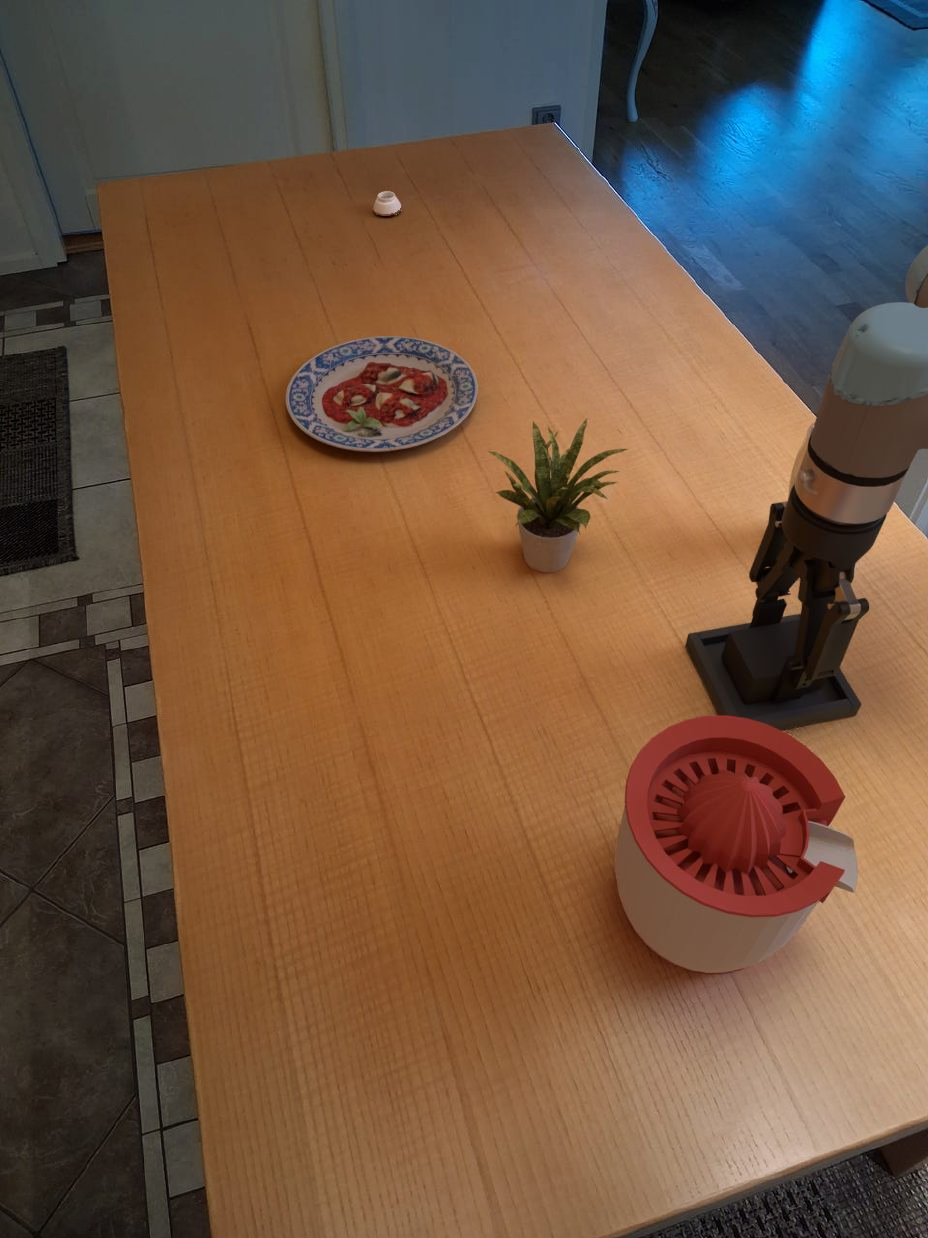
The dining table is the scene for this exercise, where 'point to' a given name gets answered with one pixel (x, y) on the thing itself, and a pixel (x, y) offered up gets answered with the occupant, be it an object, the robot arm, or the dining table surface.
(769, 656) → the black block
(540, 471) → the house plant
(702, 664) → the black square tray
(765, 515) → the dining table surface
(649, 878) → the citrus juicer
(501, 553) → the dining table surface
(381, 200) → the lidless jar
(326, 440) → the ceramic plate
